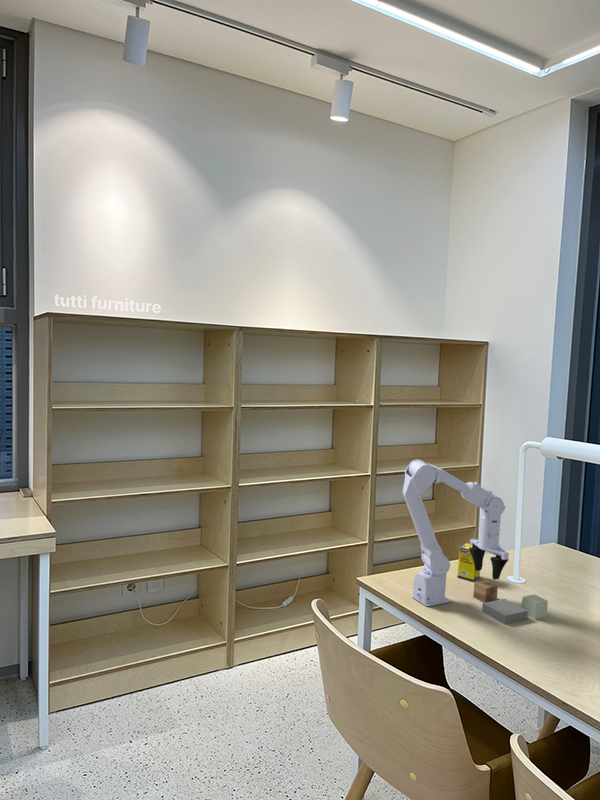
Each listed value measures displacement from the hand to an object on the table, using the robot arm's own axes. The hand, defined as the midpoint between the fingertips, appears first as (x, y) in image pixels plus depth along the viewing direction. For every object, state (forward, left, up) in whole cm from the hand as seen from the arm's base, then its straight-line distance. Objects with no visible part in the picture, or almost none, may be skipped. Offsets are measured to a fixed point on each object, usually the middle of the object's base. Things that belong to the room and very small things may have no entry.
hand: (486, 574), depth 187 cm
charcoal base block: (-3, -11, -9) cm, 14 cm away
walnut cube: (0, 0, -8) cm, 8 cm away
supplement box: (+8, +16, -8) cm, 20 cm away
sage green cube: (+6, -14, -8) cm, 17 cm away
